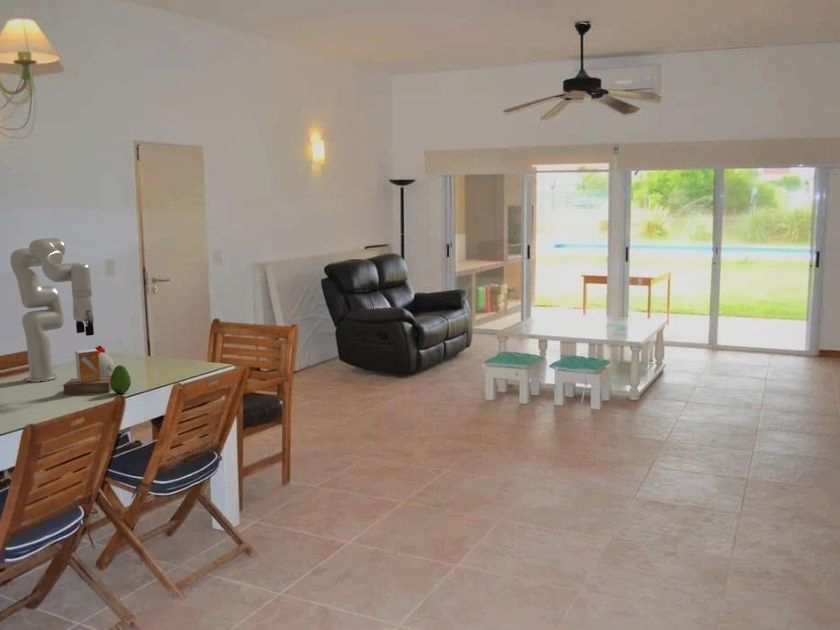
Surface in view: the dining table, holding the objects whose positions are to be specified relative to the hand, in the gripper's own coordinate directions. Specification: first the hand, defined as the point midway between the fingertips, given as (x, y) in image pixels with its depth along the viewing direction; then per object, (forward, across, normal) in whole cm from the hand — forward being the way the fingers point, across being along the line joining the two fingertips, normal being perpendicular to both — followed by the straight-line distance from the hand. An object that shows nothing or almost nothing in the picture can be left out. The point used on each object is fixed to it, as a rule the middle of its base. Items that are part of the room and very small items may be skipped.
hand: (85, 333), depth 336 cm
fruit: (+25, +16, +7) cm, 30 cm away
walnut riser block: (+25, 0, 0) cm, 25 cm away
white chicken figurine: (+25, -22, +14) cm, 36 cm away
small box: (+20, 0, 0) cm, 20 cm away
